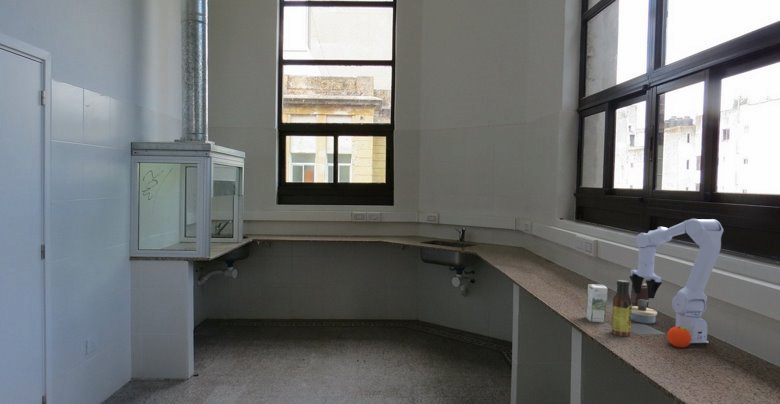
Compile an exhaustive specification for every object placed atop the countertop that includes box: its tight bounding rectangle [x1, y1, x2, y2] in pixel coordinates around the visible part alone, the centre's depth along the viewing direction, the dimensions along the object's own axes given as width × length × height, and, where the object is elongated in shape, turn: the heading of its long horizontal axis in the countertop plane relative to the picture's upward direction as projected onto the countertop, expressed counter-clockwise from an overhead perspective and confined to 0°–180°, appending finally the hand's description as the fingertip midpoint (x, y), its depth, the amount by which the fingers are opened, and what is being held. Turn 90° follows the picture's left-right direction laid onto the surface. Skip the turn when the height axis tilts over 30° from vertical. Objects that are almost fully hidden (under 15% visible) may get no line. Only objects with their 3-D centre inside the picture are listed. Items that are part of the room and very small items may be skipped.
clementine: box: [666, 326, 695, 348], centre depth 151 cm, size 8×7×7 cm
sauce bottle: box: [611, 279, 632, 338], centre depth 162 cm, size 6×6×20 cm
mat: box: [630, 323, 666, 336], centre depth 169 cm, size 12×12×1 cm
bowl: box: [631, 313, 657, 324], centre depth 181 cm, size 9×9×4 cm
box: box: [630, 282, 650, 308], centre depth 196 cm, size 6×4×12 cm
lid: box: [632, 299, 658, 317], centre depth 181 cm, size 11×11×5 cm
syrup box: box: [585, 283, 609, 323], centre depth 178 cm, size 6×6×14 cm
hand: (644, 295), depth 180 cm, fingers open, 7 cm apart
